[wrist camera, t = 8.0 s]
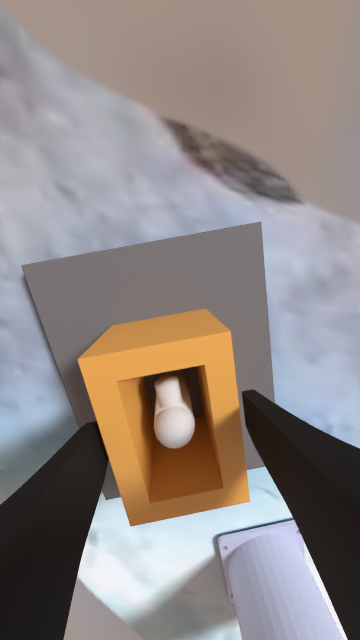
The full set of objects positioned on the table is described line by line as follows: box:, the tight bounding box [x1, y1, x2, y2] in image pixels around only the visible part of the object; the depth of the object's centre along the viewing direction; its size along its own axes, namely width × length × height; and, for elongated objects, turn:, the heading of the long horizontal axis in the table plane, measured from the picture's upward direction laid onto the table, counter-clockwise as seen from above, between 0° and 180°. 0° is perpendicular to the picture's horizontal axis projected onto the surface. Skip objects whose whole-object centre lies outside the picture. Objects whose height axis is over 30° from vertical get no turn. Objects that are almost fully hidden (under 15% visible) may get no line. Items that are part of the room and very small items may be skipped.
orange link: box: [77, 309, 250, 526], centre depth 11 cm, size 9×6×5 cm, turn 10°
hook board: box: [21, 222, 275, 500], centre depth 12 cm, size 18×14×6 cm
